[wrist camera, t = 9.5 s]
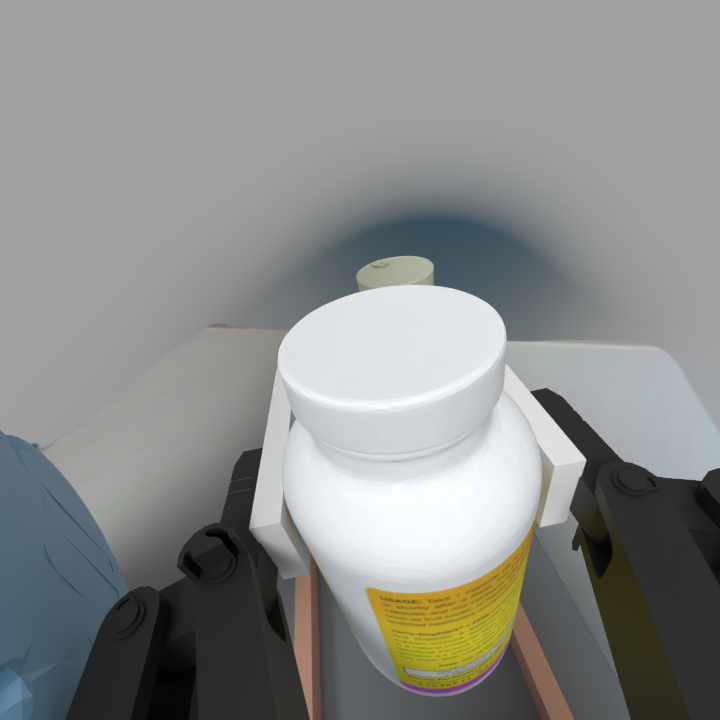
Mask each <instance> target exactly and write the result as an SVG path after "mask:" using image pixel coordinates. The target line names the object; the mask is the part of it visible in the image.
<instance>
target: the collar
mask: <svg viewBox="0 0 720 720" xmlns="http://www.w3.org/2000/svg"><path fill="white" fill-rule="evenodd" d="M509 642H510V644H511V647H512V649H513V652H514V654H515V656H516V659H517V661H518V664H519V666H520V669H521V671H522V674H523V676H524V679H525V681H526V684H527V686H528V689H529V691H530V694H531V696H532V699H533V701H534V704H535V706H536V709H537V711H538V714H539V716H540V719H541V720H574V718H573V716H572V714H571V712H570V709H569V707H568V705H567V703H566V701H565V699H564V696H563V694H562V692H561V690H560V688H559V686H558V683H557V681H556V679H555V677H554V675H553V672H552V670H551V668H550V666H549V664H548V662H547V659H546V657H545V655H544V653H543V651H542V649H541V646H540V644H539V642H538V640H537V638H536V635H535V633H534V631H533V629H532V627H531V625H530V622H529V620H528V618H527V616H526V614H525V612H524V609H523V607H522V605H521V603H520V601H519V602H518V607H517V612H516V616H515V621H514V625H513V629H512V633H511V636H510V640H509ZM294 653H295V658H296V662H297V666H298V670H299V675H300V679H301V683H302V687H303V692H304V696H305V700H306V704H307V709H308V713H309V717H310V720H322V707H321V674H320V641H319V608H318V575H317V564H316V562H315V560H314V558H313V556H312V555H311V553H310V574H308V575H303V576H298V577H296V580H295V632H294Z"/></svg>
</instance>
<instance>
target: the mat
mask: <svg viewBox="0 0 720 720" xmlns="http://www.w3.org/2000/svg"><path fill="white" fill-rule="evenodd" d="M317 575H318V608H319V641H320V674H321V707H322V720H541V719H540V716H539V714H538V711H537V709H536V706H535V704H534V701H533V699H532V696H531V694H530V691H529V689H528V686H527V684H526V681H525V679H524V676H523V674H522V671H521V669H520V666H519V664H518V661H517V659H516V656H515V654H514V652H513V649H512V647H511V644H510V642H509V643H508V646H507V648H506V650H505V652H504V655H503V657H502V658H501V660H500V662H499V663H498V665H497V666H496V667H495V669H494V670H493V671H492V672H491V673H490V674H489V675H488V676H487V677H486V678H485V679H484V680H483V681H482V682H481V683H479V684H478V685H476V686H474V687H473V688H471V689H469V690H467V691H465V692H462V693H459V694H456V695H452V696H441V697H433V696H424V695H420V694H417V693H414V692H411V691H408V690H406V689H404V688H402V687H400V686H398V685H397V684H395V683H393V682H392V681H391V680H389V679H388V678H386V677H385V676H384V675H383V674H382V673H381V672H380V671H379V670H378V669H377V668H376V667H375V666H374V665H373V664H372V663H371V661H370V660H369V659H368V657H367V656H366V654H365V653H364V652H363V650H362V648H361V647H360V645H359V644H358V642H357V640H356V638H355V636H354V634H353V633H352V631H351V629H350V627H349V625H348V623H347V621H346V619H345V617H344V615H343V614H342V612H341V610H340V608H339V606H338V604H337V602H336V600H335V598H334V596H333V594H332V592H331V590H330V588H329V587H328V585H327V583H326V581H325V579H324V577H323V575H322V573H321V571H320V570H319V568H318V566H317ZM295 580H296V577H293V578H288V579H283V577H282V576H281V575H280V573H279V572H278V578H277V589H278V591H279V593H280V595H281V598H282V602H283V607H284V611H285V615H286V619H287V624H288V628H289V632H290V636H291V641H292V645H293V649H294V632H295ZM519 601H520V603H521V605H522V607H523V609H524V612H525V614H526V616H527V618H528V620H529V622H530V625H531V627H532V629H533V631H534V633H535V635H536V638H537V640H538V642H539V644H540V646H541V649H542V651H543V653H544V655H545V657H546V659H547V662H548V664H549V666H550V668H551V670H552V672H553V675H554V677H555V679H556V681H557V683H558V686H559V688H560V690H561V692H562V694H563V696H564V699H565V701H566V703H567V705H568V707H569V709H570V712H571V714H572V716H573V718H574V720H631V719H630V715H629V712H628V708H627V705H626V701H625V698H624V695H623V691H622V688H621V684H620V683H619V681H618V679H617V677H616V676H615V674H614V672H613V670H612V669H611V667H610V665H609V663H608V662H607V660H606V658H605V656H604V655H603V653H602V651H601V649H600V648H599V646H598V644H597V643H596V641H595V639H594V637H593V636H592V634H591V632H590V630H589V629H588V627H587V625H586V623H585V622H584V620H583V618H582V616H581V615H580V613H579V611H578V609H577V608H576V606H575V604H574V602H573V601H572V599H571V597H570V595H569V594H568V592H567V590H566V588H565V587H564V585H563V583H562V581H561V580H560V578H559V576H558V574H557V573H556V571H555V569H554V567H553V566H552V564H551V562H550V560H549V559H548V557H547V555H546V553H545V552H544V550H543V548H542V546H541V545H540V543H539V541H538V539H537V538H536V536H535V534H534V532H533V534H532V539H531V544H530V549H529V554H528V559H527V563H526V568H525V573H524V578H523V583H522V588H521V592H520V597H519Z"/></svg>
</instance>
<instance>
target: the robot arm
mask: <svg viewBox="0 0 720 720" xmlns="http://www.w3.org/2000/svg"><path fill="white" fill-rule="evenodd" d="M503 390H504V391H505V392H506V393H507V394H508V395H509V396H510V397H511V398H512V399H513V400H514V401H515V402H516V403H517V405H518V406H519V407H520V409H521V410H522V411H523V413H524V414H525V416H526V417H527V419H528V421H529V423H530V424H531V426H532V429H533V431H534V433H535V436H536V439H537V442H538V445H539V449H540V454H541V460H542V485H541V493H540V499H539V505H538V511H537V515H536V522H537V524H538V525H539V527H544V526H549V525H554V524H559V523H564V522H566V521H567V518H568V515H569V512H570V511H571V512H572V514H573V515H574V517H575V518H576V520H577V521H578V523H579V525H578V527H577V530H576V533H575V536H574V538H573V541H572V549H573V550H575V551H577V550H578V547H579V545H581V549H582V552H583V556H584V559H585V563H586V566H587V570H588V573H589V577H590V580H591V584H592V587H593V591H594V594H595V597H596V601H597V604H598V608H599V611H600V615H601V618H602V622H603V625H604V629H605V632H606V636H607V639H608V643H609V646H610V649H611V653H612V656H613V660H614V663H615V667H616V670H617V674H618V677H619V681H620V684H621V688H622V691H623V695H624V698H625V701H626V705H627V708H628V712H629V715H630V719H631V720H720V468H718V469H714V470H711V471H708V473H707V474H706V476H705V477H704V478H703V480H702V481H696V480H684V479H672V478H662V477H656V476H655V475H653V474H652V473H651V472H649V471H648V470H646V469H645V468H642V467H640V466H638V465H635V464H633V463H628V462H624V461H623V460H622V459H621V458H620V457H619V456H618V455H617V454H616V453H615V452H614V451H613V450H612V449H611V448H610V447H609V446H608V445H607V444H606V443H605V442H604V441H603V440H602V438H601V437H600V436H599V435H598V434H597V433H596V432H595V431H594V430H593V429H592V428H591V427H590V426H589V425H588V424H587V423H586V422H585V421H583V420H582V417H581V416H580V415H579V414H578V413H577V412H576V411H574V410H573V408H572V407H571V406H570V405H569V404H568V403H567V401H566V400H565V399H564V398H563V397H561V396H560V395H558V394H556V393H554V392H553V391H551V390H549V389H547V388H545V389H540V390H535V391H530V392H529V390H528V389H527V388H526V387H525V386H524V384H523V383H522V382H521V381H520V380H519V378H518V377H517V376H516V375H515V374H514V372H513V371H512V370H511V369H510V368H509V366H508V365H507V364H505V380H504V386H503ZM295 419H296V418H295V416H294V414H293V412H292V409H291V407H290V403H289V400H288V397H287V393H286V390H285V387H284V385H283V382H282V379H281V376H280V373H279V370H278V369H277V370H276V375H275V381H274V387H273V393H272V398H271V404H270V410H269V416H268V422H267V427H266V433H265V439H264V445H263V448H260V449H255V450H250V451H245V452H243V454H242V455H241V457H240V458H239V460H238V461H237V463H236V464H235V466H234V470H233V474H232V478H231V483H230V486H229V490H228V495H227V498H226V502H225V506H224V510H223V514H222V518H221V522H220V523H214V524H211V525H208V526H205V527H204V528H202V529H201V530H199V531H198V532H196V533H195V534H194V535H193V536H192V537H191V538H190V539H189V540H188V541H187V543H186V544H185V546H184V547H183V549H182V551H181V553H180V555H179V559H178V564H177V567H178V568H179V569H180V570H181V571H182V572H183V573H184V574H185V575H186V577H185V578H183V579H181V580H179V581H177V582H176V583H174V584H172V585H170V586H168V587H166V588H165V589H163V590H161V591H159V592H158V591H157V590H155V589H153V588H151V587H149V586H148V587H139V588H137V589H135V590H133V591H131V592H129V590H128V587H127V585H126V582H125V580H124V578H123V575H122V573H121V571H120V568H119V566H118V564H117V561H116V559H115V557H114V555H113V553H112V551H111V549H110V547H109V545H108V543H107V541H106V539H105V538H104V536H103V534H102V532H101V530H100V528H99V526H98V525H97V523H96V521H95V520H94V518H93V516H92V515H91V513H90V512H89V510H88V508H87V507H86V505H85V504H84V502H83V501H82V500H81V498H80V497H79V495H78V494H77V492H76V491H75V490H74V488H73V487H72V486H71V485H70V483H69V482H68V481H67V479H66V478H65V477H64V476H63V475H62V474H61V472H60V471H59V470H58V469H57V468H56V467H55V466H54V465H53V464H52V463H51V462H50V461H49V460H48V459H47V458H46V457H45V456H44V455H43V454H42V453H41V452H40V451H38V450H37V449H36V448H35V447H33V446H32V445H31V444H29V443H28V442H26V441H24V440H23V439H21V438H19V437H15V436H12V435H5V434H4V433H3V432H2V431H0V720H310V717H309V713H308V709H307V704H306V700H305V696H304V692H303V687H302V683H301V679H300V675H299V670H298V666H297V662H296V658H295V653H294V649H293V645H292V641H291V636H290V632H289V628H288V624H287V619H286V615H285V611H284V607H283V602H282V598H281V595H280V593H279V591H278V589H277V578H278V572H279V573H280V575H281V576H282V577H283V579H288V578H293V577H298V576H303V575H308V574H310V551H309V549H308V547H307V546H306V544H305V542H304V540H303V538H302V537H301V535H300V533H299V531H298V529H297V527H296V525H295V523H294V521H293V519H292V517H291V514H290V512H289V510H288V507H287V503H286V500H285V497H284V491H283V484H282V458H283V452H284V448H285V443H286V440H287V438H288V435H289V432H290V430H291V428H292V426H293V424H294V421H295Z"/></svg>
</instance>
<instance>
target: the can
mask: <svg viewBox="0 0 720 720" xmlns="http://www.w3.org/2000/svg"><path fill="white" fill-rule="evenodd" d="M433 270H434V266H433V263H432V262H431V261H429V260H428V259H425V258H421V257H416V256H398V257H390V258H386V259H381V260H378V261H375V262H372V263H370V264H368V265H366V266H365V267H363V268H362V269H360V270H359V272H358V273H357V275H356V280H357V282H358V287H359V291H360V292H362V291H366V290H371V289H376V288H381V287H389V286H401V285H430V286H434V279H433V273H434V272H433Z"/></svg>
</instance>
